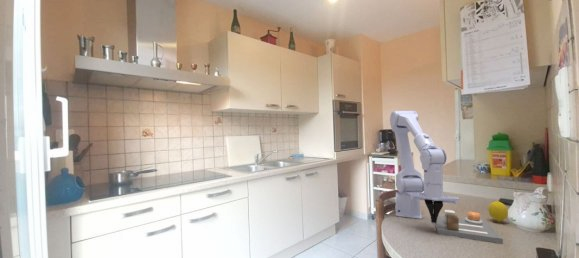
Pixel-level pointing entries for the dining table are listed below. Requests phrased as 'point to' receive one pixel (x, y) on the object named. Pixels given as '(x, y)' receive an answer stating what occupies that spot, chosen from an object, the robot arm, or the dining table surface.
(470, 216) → the button orange
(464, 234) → the panel
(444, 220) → the slider cream
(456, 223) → the slider walnut
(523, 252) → the dining table surface
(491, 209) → the lemon
